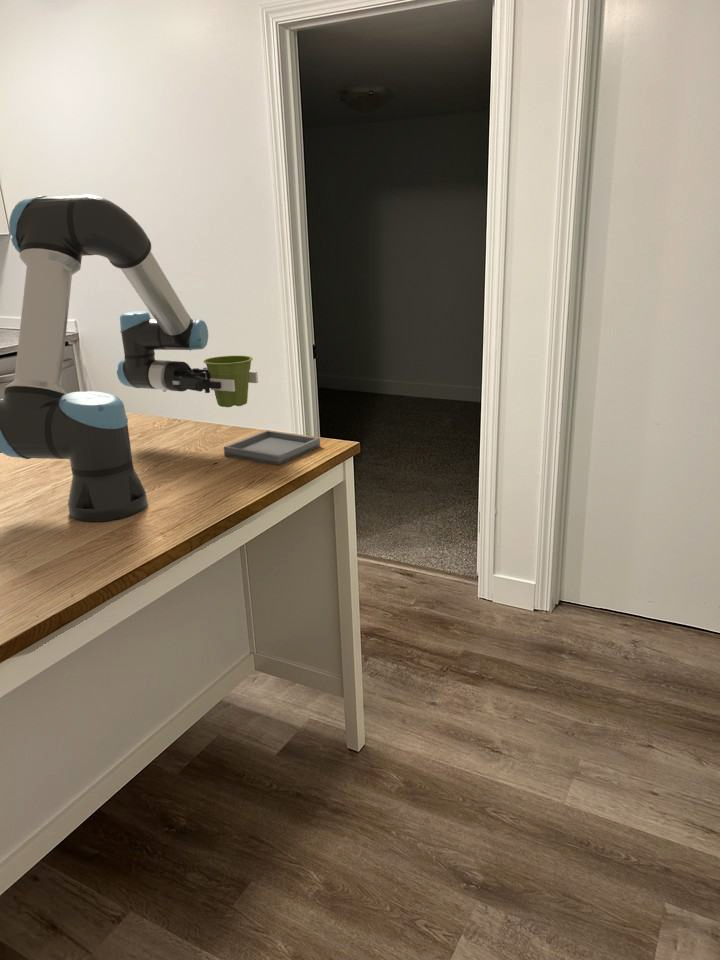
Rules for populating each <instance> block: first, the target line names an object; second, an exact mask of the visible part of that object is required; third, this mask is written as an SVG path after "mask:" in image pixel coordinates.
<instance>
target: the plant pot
mask: <svg viewBox="0 0 720 960" xmlns="http://www.w3.org/2000/svg"><path fill="white" fill-rule="evenodd" d="M253 360H254V357H253V356H250V355H222V356H214V357H209V358H206V359H204V360H203V363H204V364H205V366H206V368H207V369H208V372H209V373H210V377H211V378H217V379H230V380H234V383H235V391H234V392H231V391H219V390H213V392H214V395H215V399H216V403H217V405H218V406H219V407H222V408H231V407H234V406H236V407H243V406H244V405H247V404H248V396H249V384H250V383H249V371H251V365H252V361H253Z"/></svg>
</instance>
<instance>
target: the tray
mask: <svg viewBox="0 0 720 960" xmlns="http://www.w3.org/2000/svg"><path fill="white" fill-rule="evenodd" d="M320 447H321V438H320V437H315V436H308V435H302V434H295V433H289V432H283V431H276V430H275V431H274V430H268V429H267V430H264V431H261V432H258V433H257V434H254V435H250V436H249V437H246V438H243V439H241V440H239V441H236V442H233V443H231V444H228V445H225V446H224V447H223V452H224V456H225V455H226V456H225V457H230V458H235V457H236V459H242V460H248V461H253V462H258V463H263V464H269V465H274V466H281V465H283V464H285V463H287V461H288V462H290V461H292V460H294V459H296V458H299V457H301V456H303V455H305V454H307V453H309V452H311V451H314V450H316V449H318V448H320ZM304 453H305V454H304ZM302 454H303V455H302ZM300 455H301V456H300ZM295 457H296V458H295ZM293 458H294V459H293ZM291 459H292V460H291ZM289 460H290V461H289Z"/></svg>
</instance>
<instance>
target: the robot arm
mask: <svg viewBox="0 0 720 960" xmlns="http://www.w3.org/2000/svg"><path fill="white" fill-rule="evenodd" d="M8 228H9V229H8V232H9V235H10V236H12V237H11V239H10V240H11V243H12V245H13V247H14V248H15V250H16V251H17V252H18V254H19V259H20V260H21V261H22V263H24V265H25V266H26V271H25V277H24V279H25V280H24V281H25V282H24V288H23V298H22V308H21V314H20V315H21V317H20V324H19V334H18V335H19V336H18V344H17V352H16V364H15V369H14V370H15V372H14V379H13V381H12V382H10V383H8V384H7V385H5V387H4V394H3V398H1V399H0V453H1V454H3V455H5V456H7V457H10V458H18V459H19V458H21V459H25V460H30V459H45V460H46V459H52V460H69V462H70V464H69V465H70V467H71V468H70V469H71V474H72V478H71V483H70V490H69V496H68V501H67V502H68V503H67V506H68V512H69V513H68V514H69V515H70V517H71V518H73V519H74V520H78V521H82V522H107V521H114V520H118V519H123V518H127V517H130V516H132V515H134V514H137V513H139V512H140V511H142V510H143V509H144V508H146V506H147V505H148V498H147V493H146V490H145V487H144V485H143V484H142V482H141V480H140V478H139V476H138V474H137V472H136V470H135V468H134V463H133V456H132V449H131V448H132V447H131V441H130V433H129V426H128V424H129V423H128V422H129V420H128V416H127V413H126V409H125V405H124V402H123V400H121V399H120V397H118V396H116V395H114V394H112V393H108V392H102V391H93V390H91V391H89V390H88V391H74V392H69V393H67V392H66V391H65V390H64V389H63V387H62V377H63V368H64V358H65V349H66V339H67V338H66V337H67V329H68V328H67V326H68V318H69V309H70V301H71V288H72V286H71V285H72V278H73V276H74V274H77V273H78V272H79V271H80V270H81V268H82V260H83V259H82V258H83V256H100V257H103V258H106V259H108V261H109V263H110V264H111V265H112V266H113V267H115V268H117V269H119V270H121V271H122V273H123V274H124V276H125V278H126V279H127V280H128V281H129V283H130V284H131V287H132V288H133V289H134V290H135V292H136V293H137V294H138V296H139V298H140V300H141V301H142V302H143V304H144V305H145V307H146V308H147V310H148V311H149V312H148V311H140V310H139V311H129V312H123V313H122V314H121V315H120V316H119V322H120V324H119V325H120V326H119V327H120V333H121V341H122V347H123V353H124V356H123V357H124V358H123V359H121V360H120V362H119V363H118V364H117V370H116V375H117V379H118V381H119V382H120V384H122V385H124V386H126V387H129V388H130V387H131V388H134V389H148V390H149V389H150V390H162V392H163V393H166V392H167V391H171V392H181V393H182V392H186V391H187V390H190V391H196V392H202V391H204V393H205V394H209V393H211V391H214V390H219V391H231V392H234V391H235V383H234V380H230V379H217V378H211V377H210V373H209V372H208V369H207V366H206V367H203V368H198V367H195V368H191V366H190V365H189V363H188V362H185V361H178V360H177V361H176V360H165V359H164V360H163V359H161V360H160V359H156V358H155V351H156V350H157V351H161V350H162V351H163V350H164V351H167V350H168V351H190V352H191V351H195V350H197V351H199V350H204V349H205V348H206V346H207V345H208V340H209V330H208V326H207V323H206V322H205V321H204V320H202V319H197V318H193V319H192V318H191V315H190V314H189V313H188V311H187V309H186V308H185V306H184V305H183V303H182V301H181V300H180V298H179V296H178V295H177V293H176V291H175V290H174V287H172V284H171V283H170V281H169V279H168V278H167V276H166V274H165V273H164V271H163V269H162V268H161V266H160V264H159V263H158V261H157V259H156V258H155V256H154V254H153V253H152V242H151V241H150V239H149V238H150V237H148V235H147V233H146V232H145V230H144V229H143V227H142V226H141V225H140V223H139V222H138V221H136V219H134V217H132V216H131V215H130V214H129V213H128V212H127V211H126V210H124V209H123V208H121V207H120V206H119V205H117V204H116V203H114V202H113V201H111V200H108V199H106V198H104V197H101V196H98V195H95V194H94V195H93V194H81V195H60V196H59V195H58V196H57V195H56V196H47V195H39V196H38V195H37V196H35V197H29V198H24V199H22V200H20V201H19V202H17V204H16V205H15V206H14V207H13V209H12V210H11V213H10V217H9V225H8ZM150 314H151V315H152V317H153V319H152V318H151V315H150ZM250 383H251V384H257V383H259V375H258V371H252V370H249V383H248V384H250Z"/></svg>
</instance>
